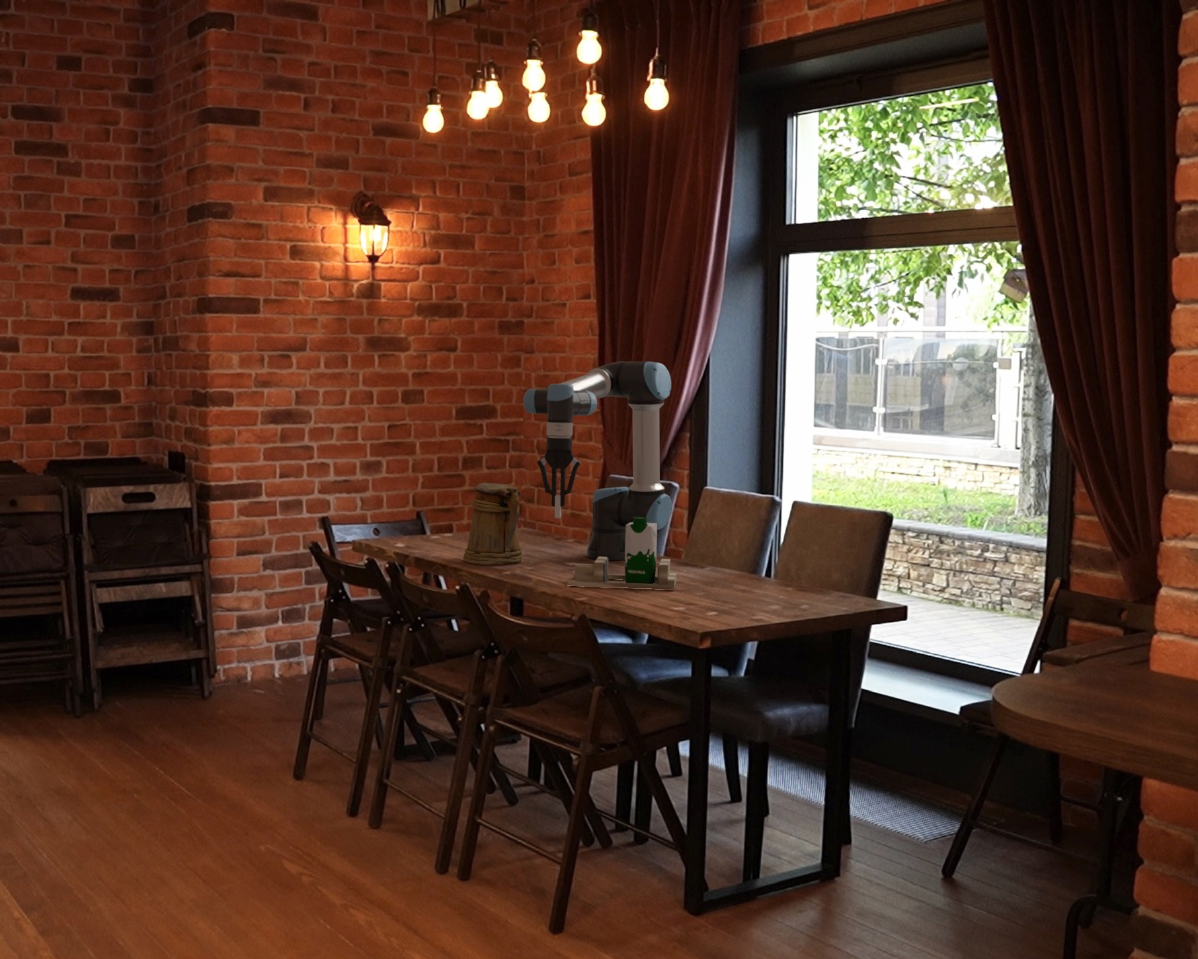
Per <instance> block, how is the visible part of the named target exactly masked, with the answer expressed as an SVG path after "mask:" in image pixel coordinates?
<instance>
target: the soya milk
mask: <svg viewBox="0 0 1198 959" xmlns="http://www.w3.org/2000/svg"><path fill="white" fill-rule="evenodd" d="M657 538H658V530H657V523H647V518H646V517H633V522H632V523H629V524H627V525H626V538H625V559H624V575H625V582H624V583H640V584H653V583H654V584H655V576H656V572H657V547H658V546H657V544H658V542H657V541H658V540H657Z"/></svg>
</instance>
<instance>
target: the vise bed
mask: <svg viewBox="0 0 1198 959" xmlns="http://www.w3.org/2000/svg"><path fill="white" fill-rule="evenodd" d="M572 576H573V577H572V579H573V578H575V572H574V573H573V575H572ZM608 579H623V580H625V574H617V573H616V574H615V573H614V574H613V573H612V574H610V573H608ZM655 581H657V582H656V583H654V584H640V583H626V582H611V581H610V582H608V581H607V582H586V581H575V580H567V582H566V586H567V585H574V586H584V587H583V588H585V587H628V588H652V589H675V590H676V586H677V583H676V582H677V581H678V571H671V558H661V559H660V561H659V563H658V564H657V575H655ZM675 585H676V586H675Z"/></svg>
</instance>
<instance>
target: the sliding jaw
mask: <svg viewBox="0 0 1198 959" xmlns="http://www.w3.org/2000/svg"><path fill="white" fill-rule="evenodd" d="M574 573H575V579H574V581H586V582H608V581H609V580H608V574H609V560H608V558H607V557H598V558H597V559H595V561H594V563H593V564H591V563H576V564H575V565H574Z"/></svg>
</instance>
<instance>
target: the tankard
mask: <svg viewBox="0 0 1198 959" xmlns="http://www.w3.org/2000/svg"><path fill="white" fill-rule="evenodd" d="M474 489H475V490H476V493H475V497H474V498H473V499H472V500H473V501H472V505H471V506H472V509H473V511H472V518H471V523H470V528H469V529H470V530H469V534H468V541H467V547H466V549H465V550H464V553H463V557H462V560H463V561H464V562H467V563H469V564H474V565H478V566H479V565H481V566H490V565H504V566H510V565H509V564H513V565H515V564H514V563H517V564H520V563H521V562H522V561H523V553H522V549H521V547H520V538H519V528H518V523H519V522H518V521H519V518H520V507H521V506H520V497H519V496H521V494H522V493H521V490H518V488H517V487H514V486H511V485H508V484H503V483H494V482H491V483H490V482H481V483H479V484H477V485H476V486H475V488H474ZM519 562H520V563H519Z"/></svg>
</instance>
